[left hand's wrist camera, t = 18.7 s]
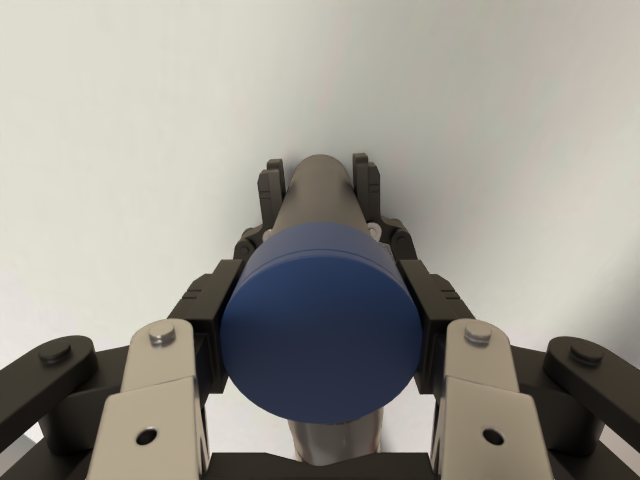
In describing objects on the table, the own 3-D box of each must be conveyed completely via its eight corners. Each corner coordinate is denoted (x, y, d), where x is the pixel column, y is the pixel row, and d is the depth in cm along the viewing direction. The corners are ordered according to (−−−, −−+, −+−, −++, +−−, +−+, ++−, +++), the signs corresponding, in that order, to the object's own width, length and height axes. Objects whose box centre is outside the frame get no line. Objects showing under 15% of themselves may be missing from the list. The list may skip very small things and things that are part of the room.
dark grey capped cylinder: (330, 143, 26) (354, 229, 8) (358, 192, 27) (430, 359, 9) (281, 173, 27) (204, 310, 9) (310, 219, 28) (295, 419, 10)
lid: (212, 250, 10) (182, 291, 8) (379, 198, 10) (396, 227, 8) (273, 379, 12) (263, 442, 10) (417, 341, 12) (442, 399, 9)
